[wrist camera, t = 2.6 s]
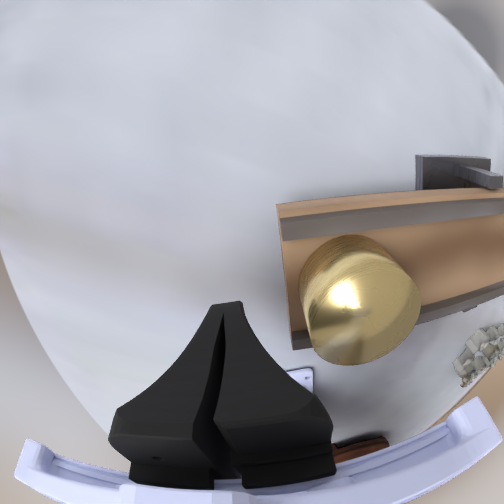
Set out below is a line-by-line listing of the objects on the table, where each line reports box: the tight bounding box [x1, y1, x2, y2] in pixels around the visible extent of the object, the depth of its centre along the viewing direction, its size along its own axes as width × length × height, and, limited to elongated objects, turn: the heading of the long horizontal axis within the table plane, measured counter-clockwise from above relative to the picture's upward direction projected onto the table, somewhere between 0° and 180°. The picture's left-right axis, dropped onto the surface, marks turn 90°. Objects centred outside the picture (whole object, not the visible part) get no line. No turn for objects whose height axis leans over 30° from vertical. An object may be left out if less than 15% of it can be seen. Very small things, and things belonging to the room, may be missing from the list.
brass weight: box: [298, 234, 421, 365], centre depth 12 cm, size 5×5×4 cm
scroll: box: [332, 436, 390, 464], centre depth 24 cm, size 15×15×20 cm
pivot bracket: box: [416, 155, 503, 312], centre depth 15 cm, size 11×8×4 cm
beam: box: [276, 188, 504, 350], centre depth 13 cm, size 8×28×2 cm, turn 98°
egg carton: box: [453, 324, 504, 387], centre depth 23 cm, size 11×8×4 cm
